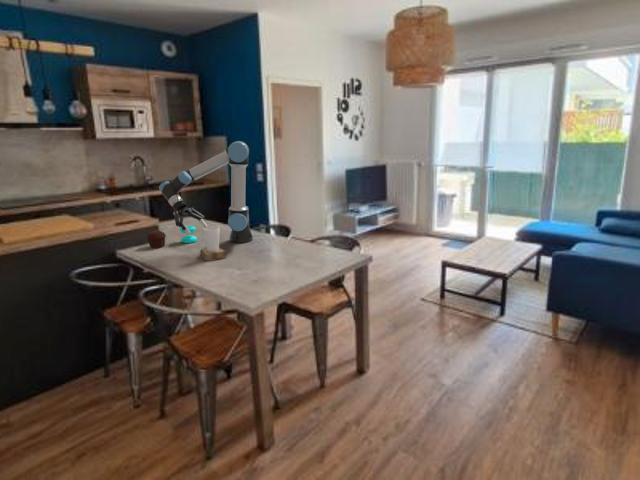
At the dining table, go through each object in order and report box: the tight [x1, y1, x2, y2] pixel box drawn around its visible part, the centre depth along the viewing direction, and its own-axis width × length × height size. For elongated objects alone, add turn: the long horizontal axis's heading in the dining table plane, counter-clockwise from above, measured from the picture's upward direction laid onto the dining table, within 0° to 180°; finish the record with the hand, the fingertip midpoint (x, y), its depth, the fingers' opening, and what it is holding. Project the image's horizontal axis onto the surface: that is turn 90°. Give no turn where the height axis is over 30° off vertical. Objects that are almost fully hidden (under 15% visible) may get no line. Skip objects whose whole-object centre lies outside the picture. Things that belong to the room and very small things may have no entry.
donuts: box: [179, 225, 198, 244], centre depth 271 cm, size 10×10×10 cm
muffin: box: [146, 230, 167, 249], centre depth 261 cm, size 12×11×10 cm
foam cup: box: [202, 226, 221, 252], centre depth 237 cm, size 10×9×13 cm
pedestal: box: [199, 246, 227, 262], centre depth 239 cm, size 12×12×4 cm
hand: (198, 230), depth 242 cm, fingers open, 13 cm apart
